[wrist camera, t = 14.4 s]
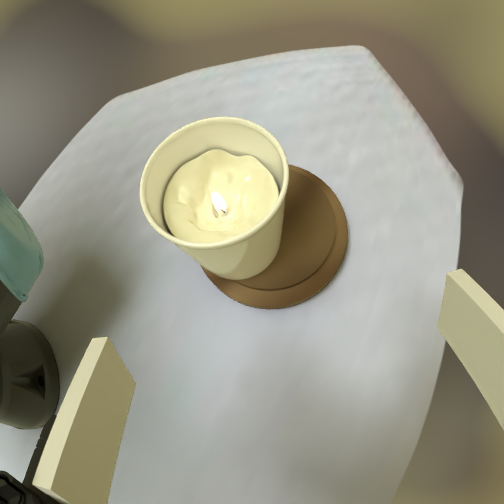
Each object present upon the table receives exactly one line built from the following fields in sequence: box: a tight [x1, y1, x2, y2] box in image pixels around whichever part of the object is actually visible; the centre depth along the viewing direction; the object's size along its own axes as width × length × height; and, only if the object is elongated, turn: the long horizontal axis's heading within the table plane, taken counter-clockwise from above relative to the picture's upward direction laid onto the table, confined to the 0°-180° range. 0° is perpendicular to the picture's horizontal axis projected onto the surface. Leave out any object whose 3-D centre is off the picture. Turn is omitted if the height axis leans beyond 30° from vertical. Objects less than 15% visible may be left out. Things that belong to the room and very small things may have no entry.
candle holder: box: [140, 117, 289, 280], centre depth 25 cm, size 10×10×12 cm
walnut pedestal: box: [201, 165, 348, 309], centre depth 33 cm, size 16×16×4 cm
